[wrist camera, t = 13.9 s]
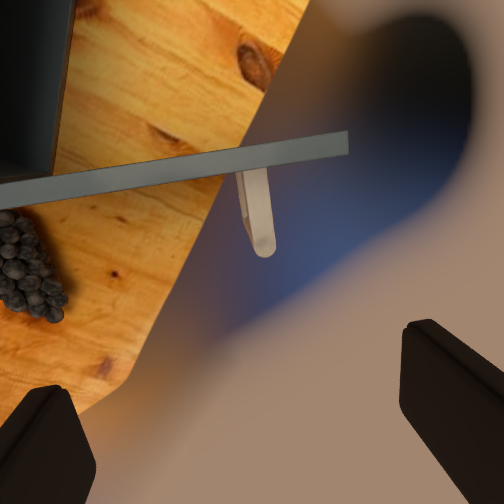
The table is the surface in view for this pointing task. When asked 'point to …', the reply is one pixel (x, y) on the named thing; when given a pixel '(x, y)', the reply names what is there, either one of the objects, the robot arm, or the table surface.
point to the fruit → (27, 270)
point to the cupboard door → (186, 168)
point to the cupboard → (32, 84)
